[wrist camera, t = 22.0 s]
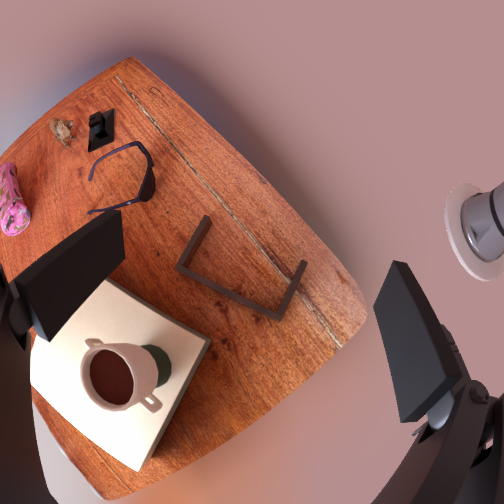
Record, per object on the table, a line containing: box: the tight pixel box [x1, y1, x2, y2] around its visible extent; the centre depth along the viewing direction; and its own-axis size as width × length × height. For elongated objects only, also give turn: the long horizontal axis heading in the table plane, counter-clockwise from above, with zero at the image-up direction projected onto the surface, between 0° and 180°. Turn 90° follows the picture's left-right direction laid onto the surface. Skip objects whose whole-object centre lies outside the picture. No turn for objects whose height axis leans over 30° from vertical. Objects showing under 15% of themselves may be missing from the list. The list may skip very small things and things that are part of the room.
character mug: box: [80, 338, 172, 414], centre depth 27 cm, size 11×7×13 cm, turn 51°
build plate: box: [88, 108, 115, 152], centre depth 51 cm, size 12×7×5 cm, turn 18°
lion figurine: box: [49, 118, 76, 149], centre depth 49 cm, size 15×5×9 cm, turn 59°
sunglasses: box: [87, 141, 156, 215], centre depth 46 cm, size 14×16×5 cm
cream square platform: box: [31, 277, 212, 472], centre depth 36 cm, size 27×26×6 cm
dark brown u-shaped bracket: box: [174, 215, 308, 322], centre depth 42 cm, size 18×10×2 cm, turn 64°
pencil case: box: [0, 162, 31, 236], centre depth 44 cm, size 21×9×9 cm, turn 44°
